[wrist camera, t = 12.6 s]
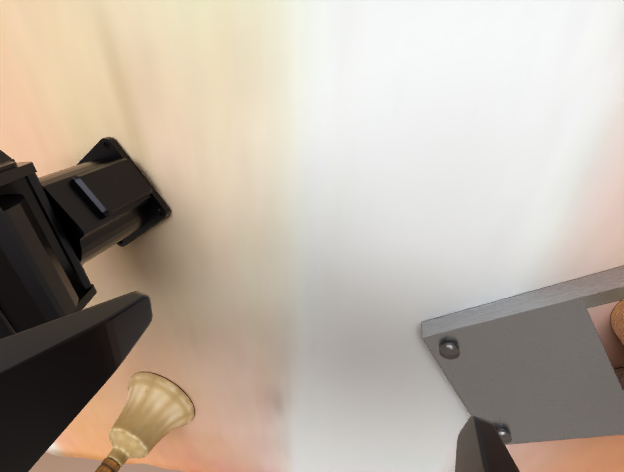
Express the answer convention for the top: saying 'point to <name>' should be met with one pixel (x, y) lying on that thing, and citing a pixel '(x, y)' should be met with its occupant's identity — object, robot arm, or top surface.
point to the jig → (535, 361)
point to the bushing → (618, 320)
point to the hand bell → (146, 418)
